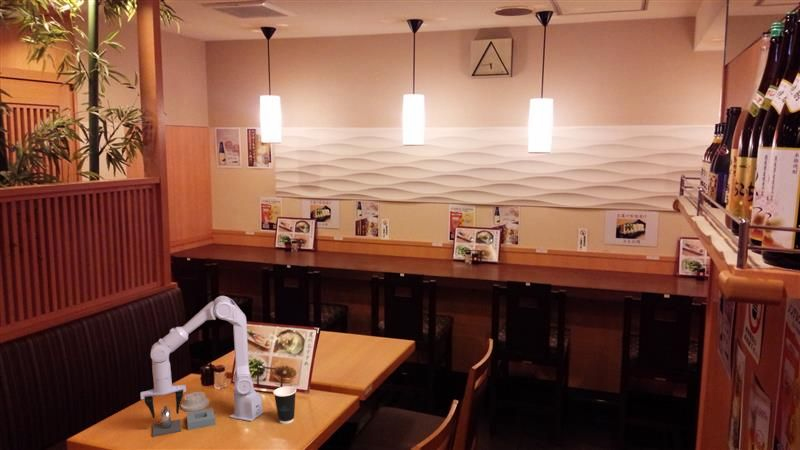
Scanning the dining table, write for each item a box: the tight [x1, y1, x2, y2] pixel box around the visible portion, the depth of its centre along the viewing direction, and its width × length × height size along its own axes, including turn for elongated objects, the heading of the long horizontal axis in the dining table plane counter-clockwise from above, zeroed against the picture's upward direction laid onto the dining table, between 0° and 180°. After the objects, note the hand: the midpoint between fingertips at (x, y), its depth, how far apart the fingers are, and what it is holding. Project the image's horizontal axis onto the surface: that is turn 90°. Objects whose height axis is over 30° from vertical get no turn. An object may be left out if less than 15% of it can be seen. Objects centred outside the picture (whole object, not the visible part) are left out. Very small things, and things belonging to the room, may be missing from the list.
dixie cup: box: [272, 386, 297, 425], centre depth 207 cm, size 8×8×11 cm
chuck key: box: [160, 405, 172, 429], centre depth 204 cm, size 3×6×7 cm, turn 22°
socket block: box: [186, 407, 216, 431], centre depth 209 cm, size 9×9×2 cm
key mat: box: [152, 418, 182, 438], centre depth 205 cm, size 9×9×1 cm
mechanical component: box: [180, 391, 210, 412], centre depth 223 cm, size 10×4×10 cm
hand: (165, 414), depth 204 cm, fingers open, 7 cm apart
